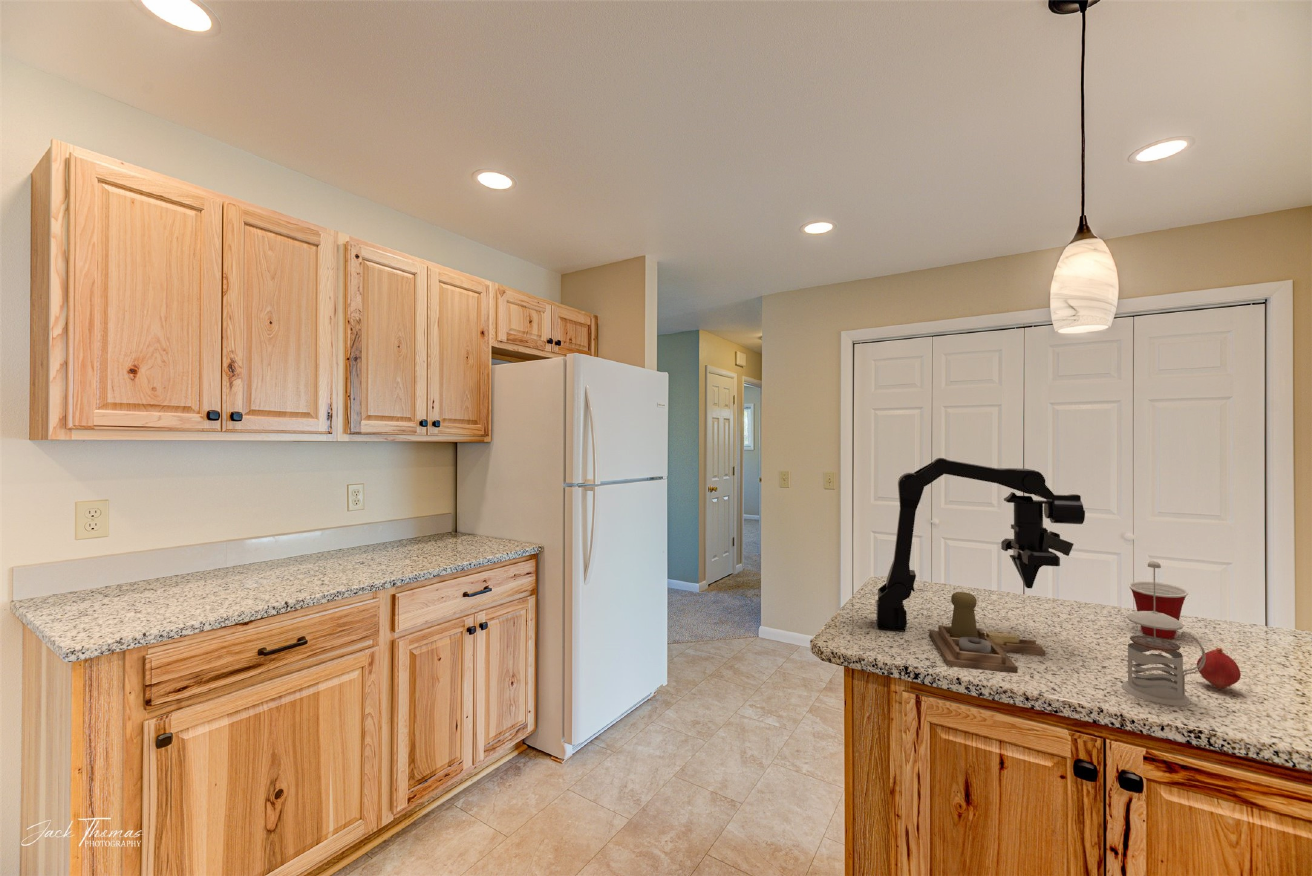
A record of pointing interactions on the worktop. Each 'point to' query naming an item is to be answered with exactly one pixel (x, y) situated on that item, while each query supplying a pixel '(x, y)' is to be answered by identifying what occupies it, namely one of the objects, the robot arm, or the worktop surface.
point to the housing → (980, 650)
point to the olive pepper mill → (963, 615)
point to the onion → (1219, 669)
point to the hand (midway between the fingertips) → (1028, 587)
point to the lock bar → (1002, 638)
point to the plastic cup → (1158, 603)
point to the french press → (1157, 659)
